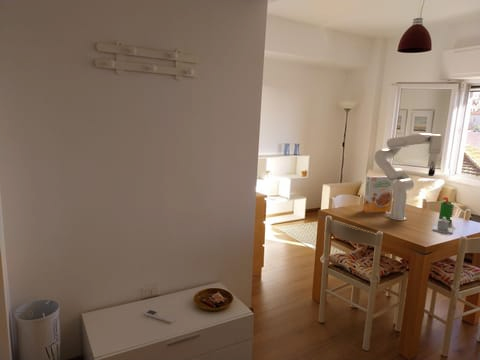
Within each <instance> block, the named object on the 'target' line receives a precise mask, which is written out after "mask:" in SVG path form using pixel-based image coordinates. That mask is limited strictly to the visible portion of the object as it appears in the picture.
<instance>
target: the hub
mask: <svg viewBox="0 0 480 360" xmlns="http://www.w3.org/2000/svg"><path fill="white" fill-rule="evenodd" d="M449 225H450V224H449V221H448V220H447V221H446V222H444V221H442V219H439V218H438V220H437V226H438V227H439V228H443V229H448V228H450V227H449Z"/></svg>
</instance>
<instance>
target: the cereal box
mask: <svg viewBox="0 0 480 360" xmlns="http://www.w3.org/2000/svg"><path fill="white" fill-rule="evenodd" d="M394 183H395V181H392V180H389V178H388V177H387V176H386V175H366V177H365V185H364V186H365V188H364V197H363V205H362V206H363V207H362V211H363V210H364V212H365V213H382V212H383V213H386V211H389V212H391V210H392V208H391V207H392V201H393V193H394V188H393V185H394Z"/></svg>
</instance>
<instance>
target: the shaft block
mask: <svg viewBox="0 0 480 360" xmlns="http://www.w3.org/2000/svg"><path fill="white" fill-rule="evenodd" d="M442 221H444V222H446V221H447V220H446V217H443V219H442ZM453 230H454V228H452V227H448V229H443V228H439V227H438V225H435V224H434V225H433V226H432V231H433V232H439V233H444V234H449V235H452V234H453Z"/></svg>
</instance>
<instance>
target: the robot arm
mask: <svg viewBox="0 0 480 360" xmlns="http://www.w3.org/2000/svg"><path fill="white" fill-rule="evenodd" d="M442 144H443V135H442V134H435V133H425V132H424V133H415V134H409V135H404V136H398V137H397V136H396V137H391V138H388V139H387V141H386V146H387V147H388V148H380V149H378V150H377V151H376V152H375V154H374V161H375V163H376V165H377V166H378V167H379V169H380V170H381V171H382V172H383V173H384V176H387V177H388V178H389V180H392V181H394V183H393V195H392V204H391V207H392V208H391V211H389V212H387V211H386V212H385V215H388V218H389V219H390V220H391V219H392V220H394V221H406V220H407V217H405V215H406V207H407V206H406V205H407V198H408V197H407V191H411V190H412V189H414V187H415V183H414V181H413V180H412V177H410V176H409V174H408V173H407V172H406V171H405V170H404V169H402V168H400V167H399V168H395V167H394V165H392V163H391V162H390V161H388V160H391V159H393V158H395V156H396V155H397V154H398V153H399V152H400V150H401V149H402V148H408V147H409V146H414V145H428V150H427V151H428V156H429V157H428V161H427V168H428V173H427V176H429V177H433V176H435V174H436V173H435V172H436V167H437V165H438V164H437V163H438V159H439V158H438V157H439V155H441V149H442Z"/></svg>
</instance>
